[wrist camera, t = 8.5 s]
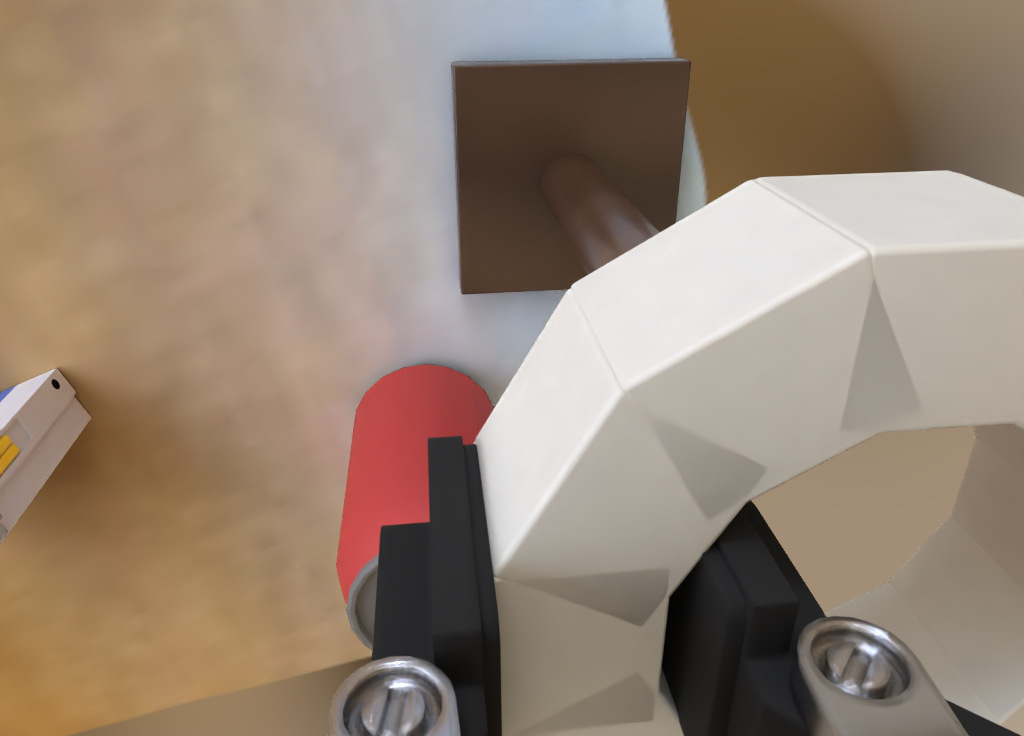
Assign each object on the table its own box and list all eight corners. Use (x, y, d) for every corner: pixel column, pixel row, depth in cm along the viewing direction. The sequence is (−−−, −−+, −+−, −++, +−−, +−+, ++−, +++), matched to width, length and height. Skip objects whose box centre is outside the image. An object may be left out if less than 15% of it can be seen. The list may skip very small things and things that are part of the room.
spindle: (450, 61, 29) (477, 122, 17) (682, 57, 30) (856, 112, 18) (459, 284, 33) (485, 455, 21) (662, 275, 34) (794, 433, 22)
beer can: (498, 357, 35) (536, 527, 24) (492, 476, 38) (523, 673, 27) (351, 358, 34) (324, 533, 23) (357, 479, 37) (335, 684, 26)
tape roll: (462, 187, 10) (479, 267, 7) (1206, 159, 11) (1467, 220, 8) (483, 732, 14) (499, 902, 12) (995, 679, 15) (1115, 826, 13)
